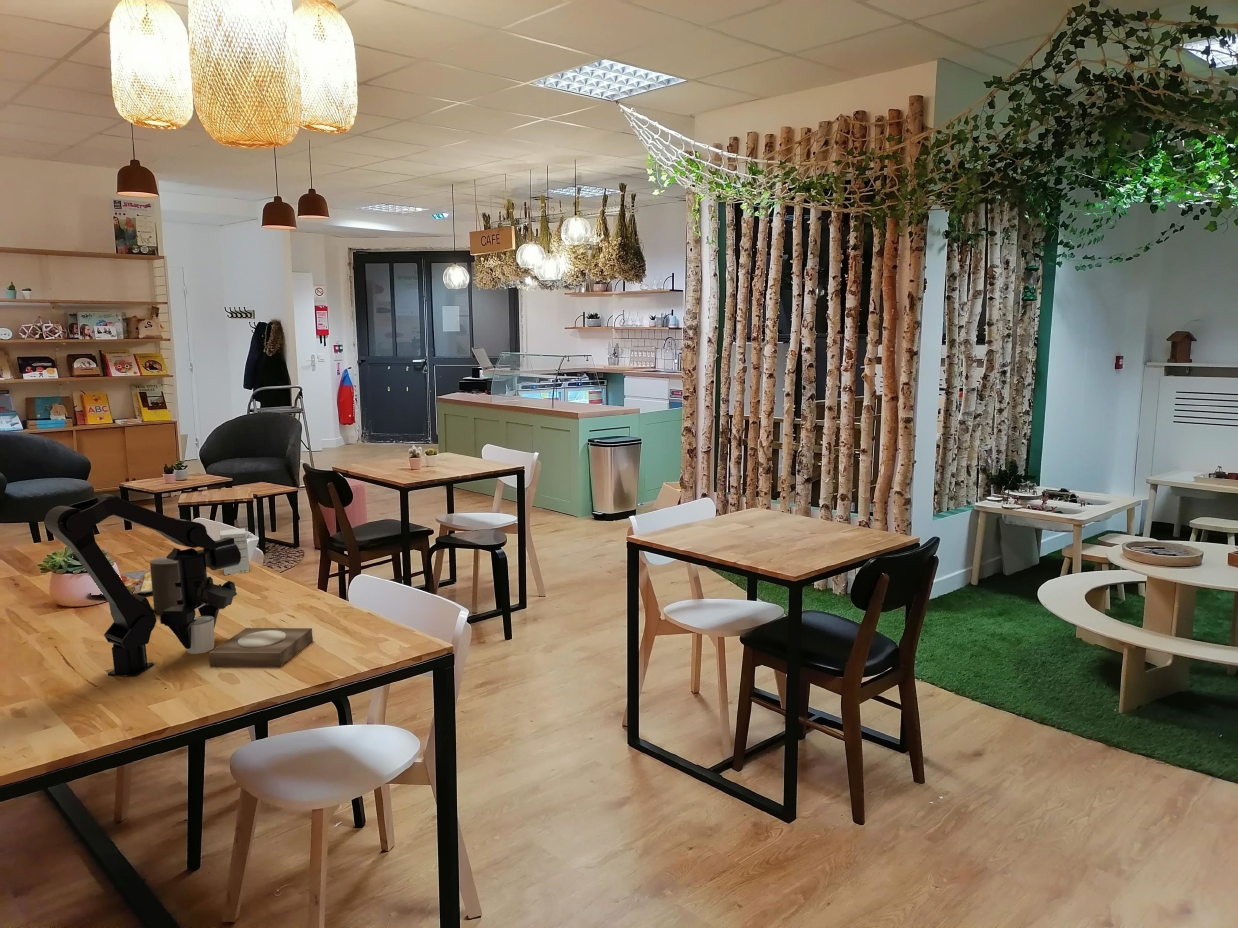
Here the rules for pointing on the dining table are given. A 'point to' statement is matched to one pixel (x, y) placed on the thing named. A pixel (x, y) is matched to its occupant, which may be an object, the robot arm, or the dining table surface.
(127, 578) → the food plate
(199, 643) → the white cup
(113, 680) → the dining table surface
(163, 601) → the pillar candle
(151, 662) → the robot arm
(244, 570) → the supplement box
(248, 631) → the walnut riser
